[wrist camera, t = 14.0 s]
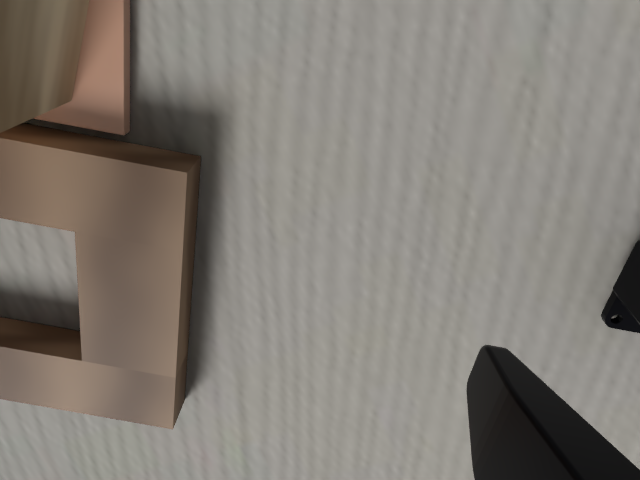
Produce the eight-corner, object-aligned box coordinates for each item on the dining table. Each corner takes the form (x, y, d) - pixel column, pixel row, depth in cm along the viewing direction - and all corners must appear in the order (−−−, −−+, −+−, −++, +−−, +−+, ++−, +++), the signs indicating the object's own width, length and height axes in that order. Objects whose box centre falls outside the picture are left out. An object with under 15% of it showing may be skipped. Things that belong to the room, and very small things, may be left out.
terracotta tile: (130, -96, 18) (123, -99, 17) (129, 131, 21) (123, 135, 21) (-105, -142, 18) (-120, -146, 17) (-65, 95, 21) (-75, 98, 21)
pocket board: (201, 156, 22) (187, 172, 20) (184, 400, 28) (172, 429, 26) (-184, 84, 21) (-233, 94, 20) (-111, 348, 28) (-143, 373, 26)
